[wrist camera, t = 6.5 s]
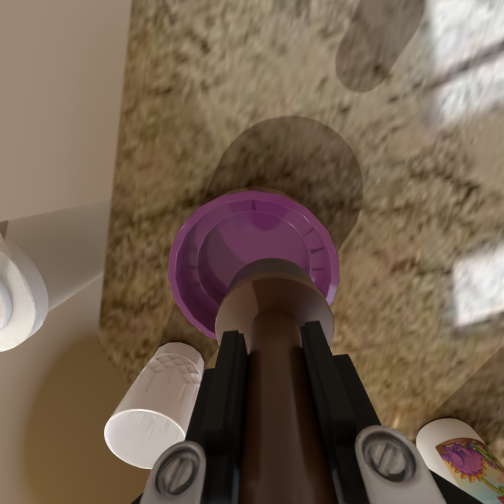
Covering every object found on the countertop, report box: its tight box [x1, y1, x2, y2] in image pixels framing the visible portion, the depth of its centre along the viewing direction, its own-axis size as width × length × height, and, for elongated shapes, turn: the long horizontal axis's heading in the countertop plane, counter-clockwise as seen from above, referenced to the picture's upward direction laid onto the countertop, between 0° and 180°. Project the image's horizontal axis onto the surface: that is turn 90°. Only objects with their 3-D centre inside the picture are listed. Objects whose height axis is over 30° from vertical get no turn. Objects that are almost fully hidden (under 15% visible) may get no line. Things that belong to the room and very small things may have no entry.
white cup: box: [104, 342, 204, 469], centre depth 28 cm, size 8×8×10 cm
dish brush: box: [215, 258, 339, 504], centre depth 9 cm, size 5×5×10 cm
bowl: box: [168, 186, 340, 340], centre depth 25 cm, size 15×15×6 cm
